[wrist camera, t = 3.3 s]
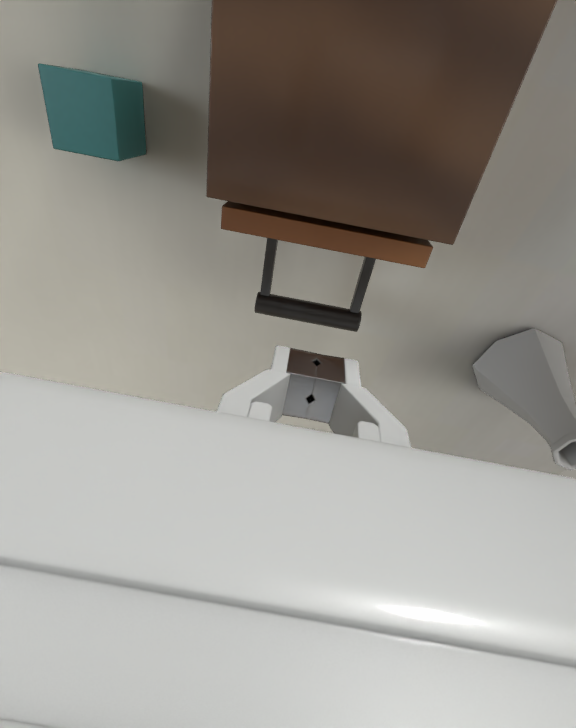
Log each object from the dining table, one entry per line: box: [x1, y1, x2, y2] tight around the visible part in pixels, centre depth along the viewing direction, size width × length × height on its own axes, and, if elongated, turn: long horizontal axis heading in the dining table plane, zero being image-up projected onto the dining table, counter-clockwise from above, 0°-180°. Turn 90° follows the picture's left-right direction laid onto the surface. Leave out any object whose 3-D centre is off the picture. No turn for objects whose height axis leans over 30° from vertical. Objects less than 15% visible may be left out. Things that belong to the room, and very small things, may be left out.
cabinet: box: [207, 0, 557, 245], centre depth 17 cm, size 17×13×9 cm
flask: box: [472, 328, 576, 470], centre depth 28 cm, size 7×7×10 cm
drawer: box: [221, 201, 433, 332], centre depth 20 cm, size 21×11×7 cm, turn 171°
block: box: [38, 64, 146, 161], centre depth 22 cm, size 4×4×4 cm
